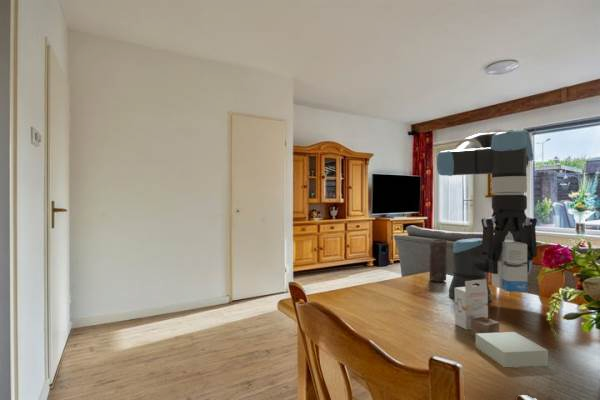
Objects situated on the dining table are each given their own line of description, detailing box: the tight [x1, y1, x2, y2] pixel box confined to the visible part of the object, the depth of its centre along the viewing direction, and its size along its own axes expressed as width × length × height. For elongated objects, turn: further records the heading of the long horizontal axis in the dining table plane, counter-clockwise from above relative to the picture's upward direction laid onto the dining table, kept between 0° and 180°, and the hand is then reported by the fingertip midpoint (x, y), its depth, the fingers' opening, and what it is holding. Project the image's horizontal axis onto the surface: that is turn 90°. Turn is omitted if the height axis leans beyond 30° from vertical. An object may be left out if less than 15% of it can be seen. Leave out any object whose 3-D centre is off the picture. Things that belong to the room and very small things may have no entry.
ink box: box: [499, 240, 529, 293], centre depth 83 cm, size 8×5×12 cm, turn 169°
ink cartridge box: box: [454, 278, 489, 330], centre depth 103 cm, size 9×5×15 cm, turn 106°
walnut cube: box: [470, 317, 500, 339], centre depth 94 cm, size 5×5×5 cm
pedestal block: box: [475, 331, 549, 368], centre depth 83 cm, size 11×11×4 cm
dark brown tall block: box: [429, 238, 448, 283], centre depth 157 cm, size 8×7×20 cm
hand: (509, 285), depth 83 cm, fingers closed on ink box, 6 cm apart
